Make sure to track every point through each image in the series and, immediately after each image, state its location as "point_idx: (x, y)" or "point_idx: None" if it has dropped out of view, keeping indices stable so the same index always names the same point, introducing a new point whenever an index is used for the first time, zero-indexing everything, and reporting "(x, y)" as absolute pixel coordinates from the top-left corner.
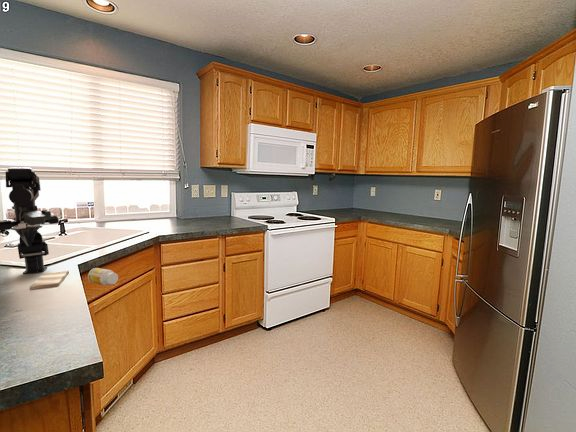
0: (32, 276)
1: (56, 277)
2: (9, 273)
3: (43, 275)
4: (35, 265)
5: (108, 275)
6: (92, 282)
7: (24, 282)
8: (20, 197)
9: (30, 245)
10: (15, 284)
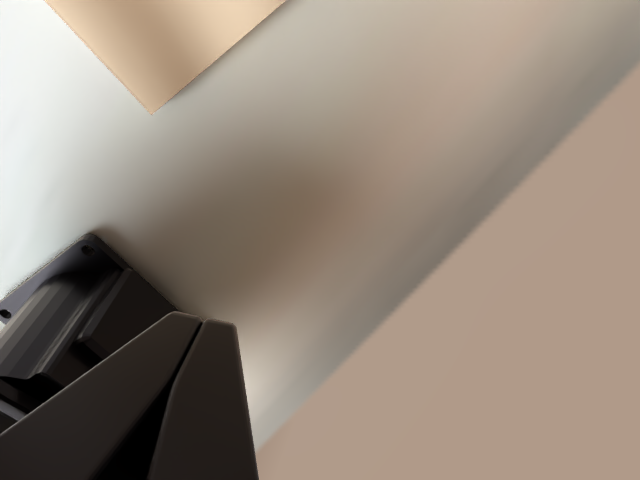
0: (219, 202)
1: None
2: None
3: (209, 32)
4: (105, 308)
5: None
6: None
7: (389, 96)
8: None
9: (191, 315)
10: (460, 128)
